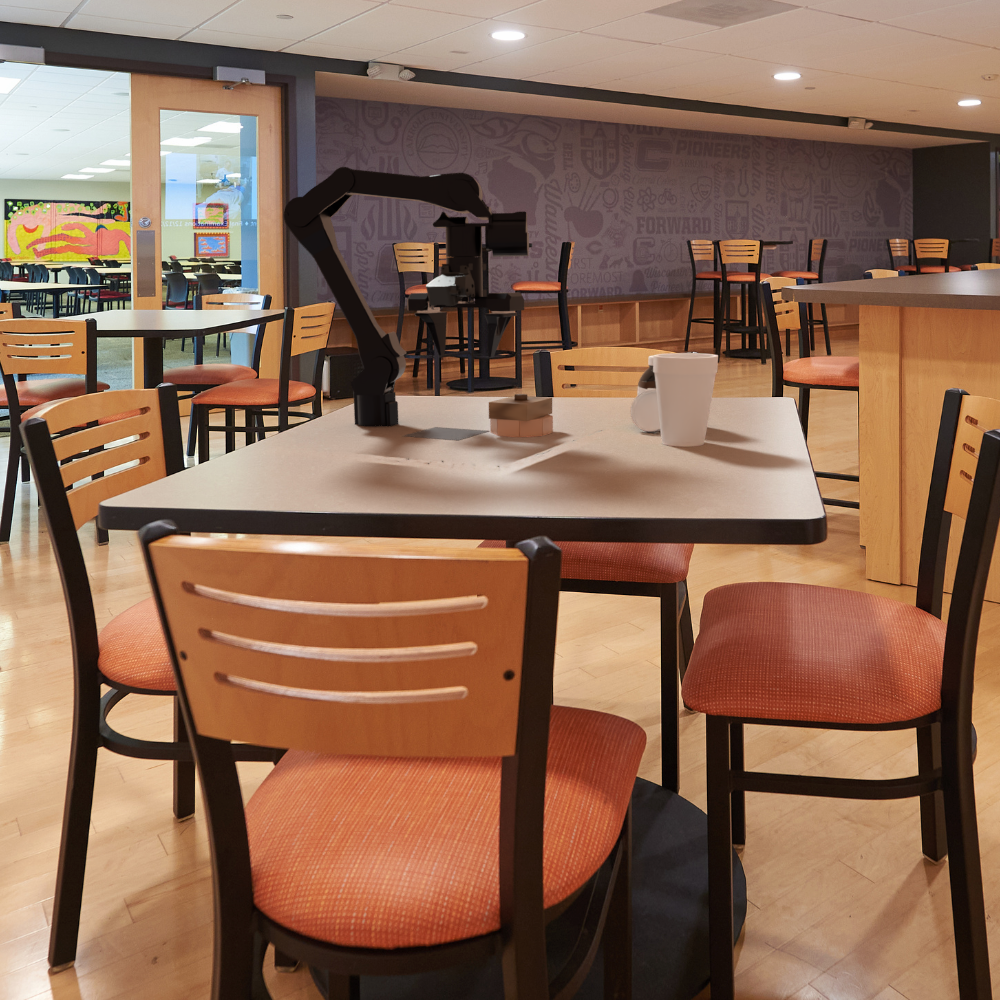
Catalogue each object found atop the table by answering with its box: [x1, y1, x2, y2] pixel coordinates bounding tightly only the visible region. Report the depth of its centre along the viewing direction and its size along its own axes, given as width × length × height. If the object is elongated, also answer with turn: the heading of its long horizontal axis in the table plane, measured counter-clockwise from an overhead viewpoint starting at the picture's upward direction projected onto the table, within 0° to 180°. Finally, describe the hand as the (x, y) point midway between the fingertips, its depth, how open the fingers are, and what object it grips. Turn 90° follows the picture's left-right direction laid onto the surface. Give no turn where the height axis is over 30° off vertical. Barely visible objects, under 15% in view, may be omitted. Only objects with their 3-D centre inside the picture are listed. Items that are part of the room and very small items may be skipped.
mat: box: [402, 426, 490, 441], centre depth 152 cm, size 10×10×1 cm
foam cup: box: [652, 352, 719, 448], centre depth 146 cm, size 10×9×13 cm
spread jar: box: [629, 354, 661, 434], centre depth 160 cm, size 12×11×12 cm
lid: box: [488, 393, 553, 421], centre depth 152 cm, size 6×9×3 cm
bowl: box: [489, 414, 554, 438], centre depth 153 cm, size 9×9×4 cm
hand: (465, 356), depth 159 cm, fingers open, 9 cm apart
